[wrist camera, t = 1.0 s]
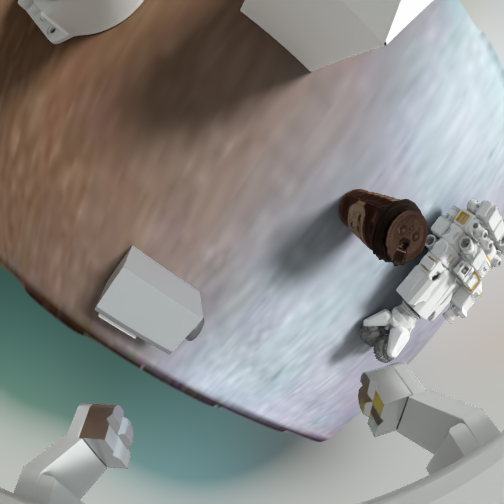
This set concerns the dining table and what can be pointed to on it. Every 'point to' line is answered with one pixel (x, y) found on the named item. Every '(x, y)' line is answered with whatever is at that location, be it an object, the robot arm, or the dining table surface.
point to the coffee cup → (385, 225)
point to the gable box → (332, 25)
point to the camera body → (151, 302)
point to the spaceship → (442, 275)
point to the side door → (116, 325)
